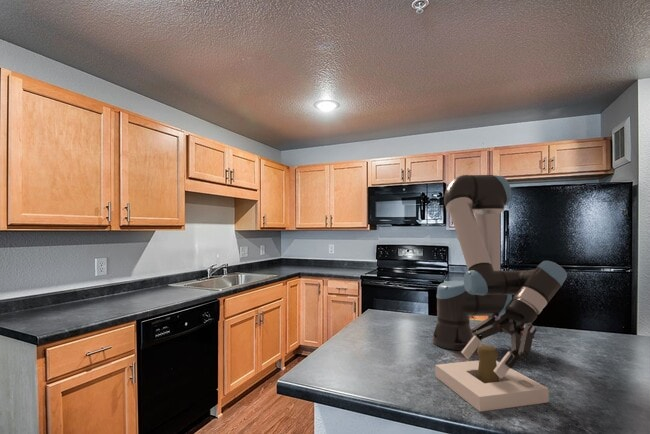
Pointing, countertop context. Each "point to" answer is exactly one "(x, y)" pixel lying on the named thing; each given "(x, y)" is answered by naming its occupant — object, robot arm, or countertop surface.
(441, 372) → the socket block
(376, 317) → the countertop surface
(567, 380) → the countertop surface
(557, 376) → the countertop surface
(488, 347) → the cork
